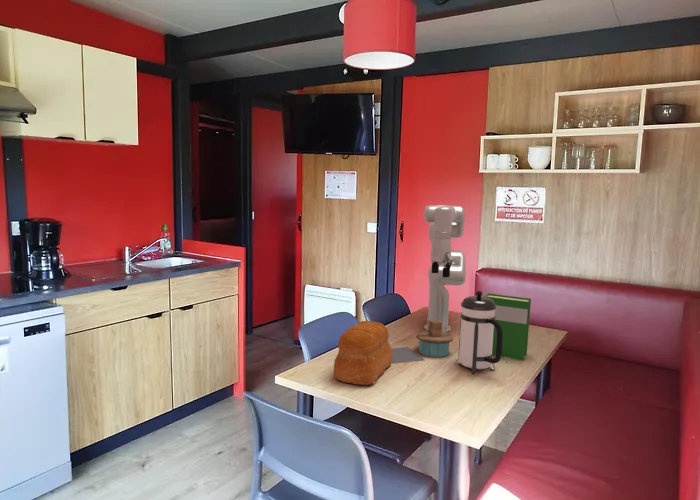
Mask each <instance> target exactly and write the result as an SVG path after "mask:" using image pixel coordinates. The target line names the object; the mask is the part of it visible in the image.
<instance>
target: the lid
mask: <svg viewBox="0 0 700 500" xmlns="http://www.w3.org/2000/svg"><path fill="white" fill-rule="evenodd" d="M415 335H416V336H415V337H416V339H417V340H419V341H420V340H421V341H423V342H427V343H434V344H444V343H449V344H450V343H451V342H453V340H454V336H453V334H451V333H449V332H444V331H442V322H441V321H439V320H429V325H428V330H426V329H425V330H424V329H423V330H420V331H417V333H416V334H415Z"/></svg>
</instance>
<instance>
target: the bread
mask: <svg viewBox="0 0 700 500" xmlns="http://www.w3.org/2000/svg"><path fill="white" fill-rule="evenodd" d="M389 334H390V333H389V329H388V328H387V327H386V326H385V324H383V323H381V322H377V321H370V320H362V321H359V322H358V323H356V324H354V325H351V326H350V327H349V328H347V329H346V330H345V331H344V333H343V334H341V335H340V336H339V339H338V344H337V348H338V352H337V355H336V357H335V359H334V363H333V376H334V378H335V380H336V381H339V380H340V382H342V383H348V384H351V385H352V384H353V385H361V386H362V385H363V386H366V385H367V386H368V385H372V384H373V383H375V382H377V380H378V378H379V377H380V376H381V375H383V374H384V372H385V370H386V369H387V368H389V367H390V366H391V365H392V364H391V362H392V349H391V348H392V347H391V345H390V342H389V340H388V339H389V336H390V335H389Z"/></svg>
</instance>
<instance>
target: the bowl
mask: <svg viewBox="0 0 700 500" xmlns="http://www.w3.org/2000/svg"><path fill="white" fill-rule="evenodd" d="M418 344H419V345H418V352H419V353H420V354H421V355H424V356H427V357H434V358H442V357H446V356H448V355H449V352H450V342H449V343H444V344H434V343H427V342H423V341H421V340H419V343H418Z"/></svg>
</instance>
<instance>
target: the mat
mask: <svg viewBox="0 0 700 500" xmlns="http://www.w3.org/2000/svg"><path fill="white" fill-rule="evenodd" d="M391 349H392V362H391V365H392V364H401V363H412V362H419V361H420V362H423V361H426V359H425V358H423V357H422V356H420V355H419V354H418V353H417V352H416V351H414V350H413V349H411V348H410V347H409V346H405V347H393V348H392V347H391Z"/></svg>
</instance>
